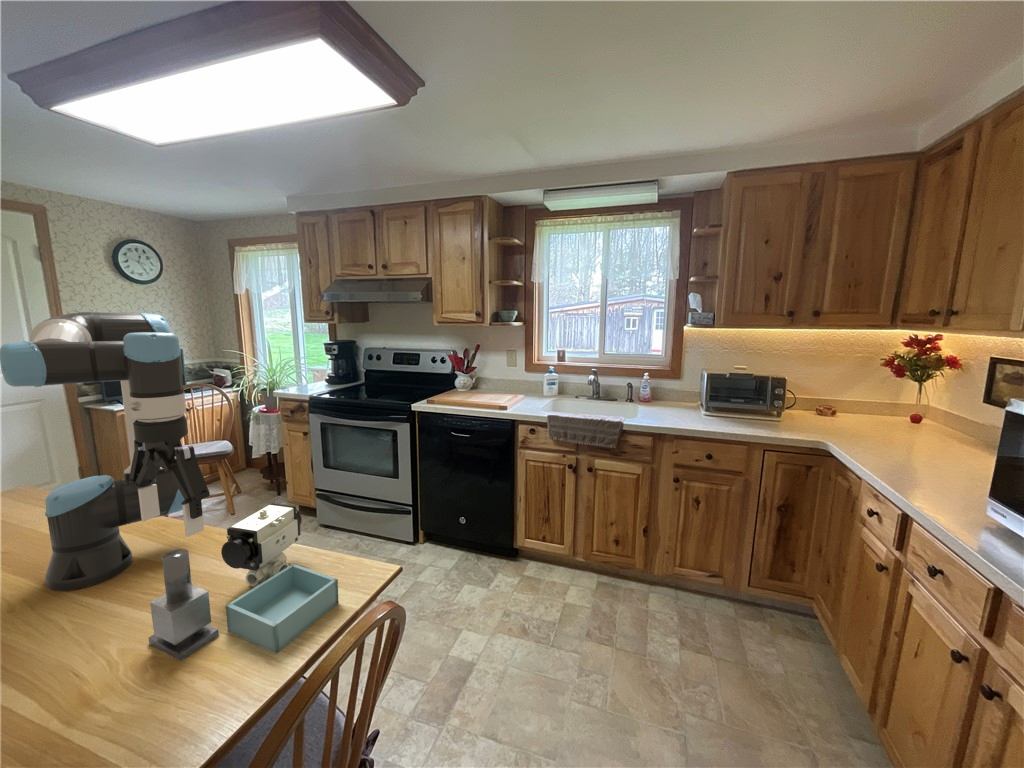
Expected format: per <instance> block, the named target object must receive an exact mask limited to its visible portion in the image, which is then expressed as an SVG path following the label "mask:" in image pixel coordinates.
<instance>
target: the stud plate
mask: <svg viewBox="0 0 1024 768" xmlns="http://www.w3.org/2000/svg"><path fill="white" fill-rule="evenodd" d="M219 636H220V633H219V628H217V627H215V626H212V625H210V624H208V625H206V626H204V627H203V628H201V629H200V630H198V631H197V632H195V633H193V634H192V635H190V636H189V637H187V638H186V639H184V640H182V641H181V642H179V643H178V644H176V645H173V644H172V643H170V642H168V641H166V640H164V639H162V638H160V637H158V636H156V635H155V634H154V633H153V634H152V635H150V636H149V637H148V644H149V645H150V646H152V647H154V648H155V649H157V650H159V651H160V652H163V653H165V654H166V655H168V656H170V657H172V658H174V659H176V660H178V661H179V662H182V661H184V660H185V659H186V658H188V657H190V656H191V655H193V654H194V653H196V652H197V651H198V650H200V649H202V648H203V647H204V646H206V645H207V644H209V643H210V642H211V641H214V640H215V639H216V638H218V637H219Z"/></svg>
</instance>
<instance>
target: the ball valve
mask: <svg viewBox="0 0 1024 768" xmlns="http://www.w3.org/2000/svg"><path fill="white" fill-rule="evenodd" d="M302 521H303V519H302V515H301V513H300V512H299V510H297V507H296V506H294V505H286V504H282V503H281V504H280V503H273V502H272V503H270V504H269V505H266V506H265V507H263V508H262V509H259V510H258V511H256V512H254V513H253V514H250V515H249V516H247V517H246V518H244V519H242V520H240V521H238V522H236V523H235V524H233V525H232V526H230V527H228V528H227V529H226V532H227V534H226V539H227V541H225V542H224V543H223V545H222V547H221V552H220V553H221V557H222V559H223V562H224V563H225V564H226V565H227V566H229V567H230V568H232V569H244V570H247V571H248V570H249V571H248V572H247V573H246V575H245V580H246V582H247V584H248V585H249V586H251V587H256V586H258V585H259V584H261V583H263V582H264V581H266V580H268V579H269V578H271V577H272V576H274V575H276V574H277V573H279V572H280V571H282V570H284V569H285V568H287V567H289V565H288V563H287V560H288V557H287V556H286V554H285V553H284V551H285V550H287V549H288V548H289V547H290V546H291V547H292V545H293V544H295V543H296V542H297V541H298V539H299V537H300V536H301V525H302Z"/></svg>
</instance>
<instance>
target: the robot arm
mask: <svg viewBox="0 0 1024 768" xmlns="http://www.w3.org/2000/svg"><path fill="white" fill-rule="evenodd" d="M170 329H171V328H170V327H169V324H168V322H167V320H166V319H165V317H164V316H162V315H160V314H157V313H147V312H146V313H145V312H98V311H97V312H92V311H82V312H81V311H80V312H72V313H67V314H66V313H65V314H61V315H57V316H54V317H53V316H52V317H50V318H48V319H45V320H42V321H41V322H39V323H36V325H35V326H34V327H33V328H32V329H31V332H30V334H29V341H22V342H20V341H19V342H6V343H4V344H2V345H1V346H0V368H1V373H2V377H3V379H4V382H5V383H6V384H7V385H9V386H11V387H35V388H38V387H42V386H43V387H44V386H59V385H69V384H71V385H72V384H85V383H101V382H102V383H105V382H120V386H121V387H120V389H121V395H122V402H123V403H122V404H123V410H124V420H125V427H126V435H127V442H128V452H129V459H130V464H129V466H128V467H127V468H126V469H125V470H123V475H124V478H122V479H116V480H114V477H113V476H111V475H107V474H102V475H93V476H89V477H85V478H83V477H82V478H81V479H77V480H74V481H71V482H68V483H66V484H63V485H61V486H60V487H59V486H58V487H57V488H55V489H53V490H52V491H51V492H50V493H48V494H47V496H46V498H45V502H44V503H45V512H44V513H45V515H44V516H45V517H46V518H47V519H46V520H47V524H48V531H49V538H50V544H51V550H52V553H51V557H50V560H49V562H48V565H47V566H48V567H47V569H46V572H45V578H44V579H45V586H46V589H49V591H50V590H51V591H55V592H66V591H69V592H70V591H73V590H80V589H84V588H88V587H91V586H95V585H98V584H101V583H102V582H105V581H108V580H110V579H112V578H115V577H116V576H118V575H120V574H121V573H123V572H125V571H126V570H127V569H128V568H129V567H130V566H131V565H132V563H133V560H134V559H133V553H132V550H131V549H130V547H129V546H128V544H127V542H126V541H125V539H124V538H123V537H122V535H121V533H120V527H122V526H126V525H130V524H135V523H138V522H146V521H148V520H152V519H155V518H158V517H163V516H164V517H166V516H167V517H168V515H172V514H175V513H178V512H181V511H182V515H183V525H184V532H185V534H184V535H185V537H187V538H188V537H191V536H193V535H196V534H198V533H200V532H203V531H205V528H204V527H205V526H204V517H203V516H204V515H203V503H202V500H203V499H206V498H208V497H210V495H211V493H210V490H209V488H208V485H207V483H206V481H205V477H204V475H203V472H202V470H201V468H200V465H199V463H198V460H197V458H196V452H195V447H194V446H193V445H189V446H183V445H182V442H181V440H182V439H183V438H185V437H186V436H188V434H189V427H188V426H189V425H188V417H187V416H185V415H184V414H186V413H187V406H186V405H187V403H186V398H185V397H186V396H185V395H186V394H185V390H184V383H183V382H184V381H183V369H182V367H183V366H182V359H181V355H182V349H181V347H180V341H179V337H178V336H177V334H176V333H173V332H171V330H170Z"/></svg>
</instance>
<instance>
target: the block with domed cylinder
mask: <svg viewBox="0 0 1024 768" xmlns="http://www.w3.org/2000/svg"><path fill="white" fill-rule="evenodd" d="M189 555H190V553H189V550H188V549H186V548H180V549H175V550H171V551H169V552H167V553H165V554H164V555H163V556H162V557H161V561H162V562H161V563H162V571H163V580H164V588H165V593H164V594H162V595H161V596H159V597H157V598H155V599H153V600H151V601H150V602H149V603H150V605H149V606H150V612H151V621H152V628H153V629H152V630H153V635H154V634H155V635H156V636H158V637H160V638H162V639H164V640H166V641H168V642H170V643H172V644H173V645H176V644H178V643H179V642H181V641H182V640H184V639H186V638H187V637H189V636H190V635H192V634H193V633H195V632H197V631H198V630H200V629H201V628H203V627H204V626H206V625H210V624H211V623H212V616H211V615H212V614H211V606H210V605H211V604H210V595H209V591H208V590H207V589H204V588H202V587H199V586H197V585H195V584H192V575H191V565H190V556H189Z"/></svg>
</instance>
